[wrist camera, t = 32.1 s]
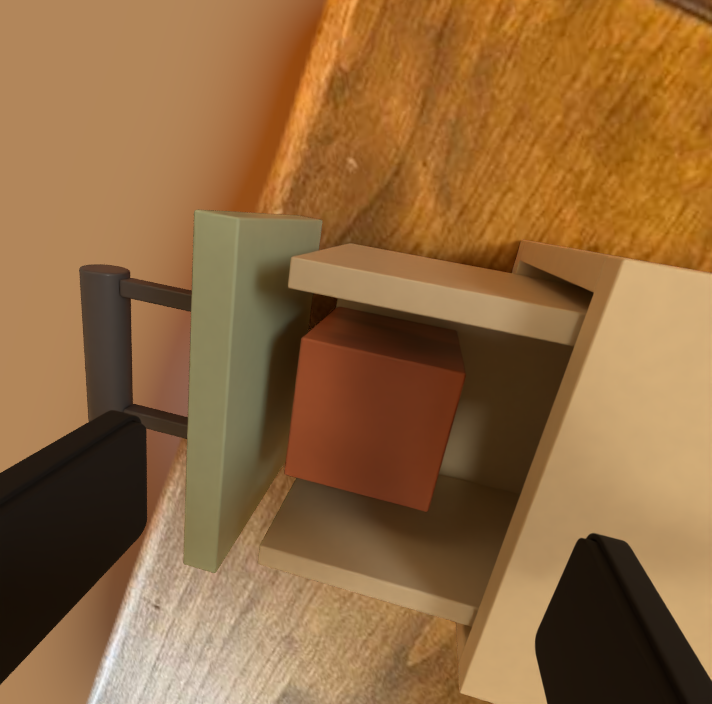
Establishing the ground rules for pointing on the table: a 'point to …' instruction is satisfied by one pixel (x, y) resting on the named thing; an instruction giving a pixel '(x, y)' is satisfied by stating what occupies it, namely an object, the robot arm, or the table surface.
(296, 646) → the table surface
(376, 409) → the block
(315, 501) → the drawer
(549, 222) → the table surface
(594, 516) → the cabinet
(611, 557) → the robot arm
